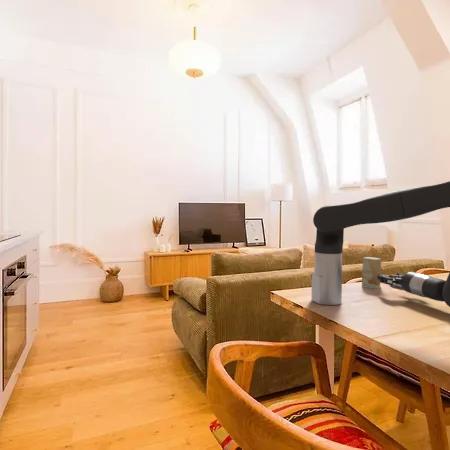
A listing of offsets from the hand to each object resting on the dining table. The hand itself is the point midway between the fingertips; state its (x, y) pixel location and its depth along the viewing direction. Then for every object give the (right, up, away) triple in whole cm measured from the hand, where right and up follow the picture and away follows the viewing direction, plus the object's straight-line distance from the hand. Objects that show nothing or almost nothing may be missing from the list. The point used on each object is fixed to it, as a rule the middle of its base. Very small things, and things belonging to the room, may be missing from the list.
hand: (387, 275), depth 132 cm
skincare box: (-2, -6, +10) cm, 12 cm away
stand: (+13, -6, +11) cm, 18 cm away
